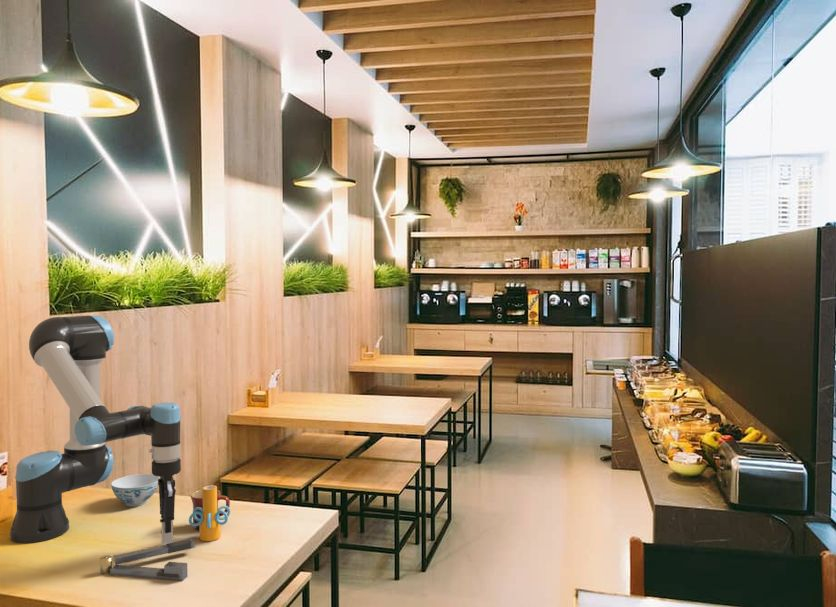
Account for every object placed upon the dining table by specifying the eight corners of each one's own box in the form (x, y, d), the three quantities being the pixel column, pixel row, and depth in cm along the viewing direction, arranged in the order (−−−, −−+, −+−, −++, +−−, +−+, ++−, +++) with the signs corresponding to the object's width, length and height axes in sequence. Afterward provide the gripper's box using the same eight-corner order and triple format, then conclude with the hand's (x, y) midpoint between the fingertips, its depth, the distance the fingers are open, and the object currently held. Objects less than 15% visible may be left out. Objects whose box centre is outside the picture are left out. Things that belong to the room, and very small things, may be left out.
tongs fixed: (97, 574, 162) (97, 559, 162) (104, 569, 165) (104, 555, 165) (182, 581, 158) (181, 566, 158) (187, 576, 161) (187, 561, 161)
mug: (185, 531, 190) (185, 497, 190) (198, 520, 199) (198, 488, 198) (223, 532, 189) (223, 499, 189) (235, 521, 198) (234, 489, 197)
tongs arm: (115, 565, 163) (115, 558, 163) (114, 561, 165) (113, 555, 165) (194, 547, 174) (194, 541, 174) (192, 544, 176) (192, 538, 176)
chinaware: (128, 514, 204) (127, 490, 203) (102, 505, 212) (101, 482, 212) (168, 501, 216) (168, 478, 216) (142, 492, 224) (142, 471, 224)
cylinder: (238, 533, 188) (238, 484, 188) (216, 547, 178) (216, 495, 178) (204, 528, 192) (204, 480, 192) (181, 541, 182) (180, 490, 182)
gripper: (148, 455, 179) (149, 537, 179) (155, 467, 167) (156, 554, 168) (176, 451, 182) (177, 532, 183) (185, 462, 171) (186, 548, 172)
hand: (167, 542), depth 176 cm, fingers closed
